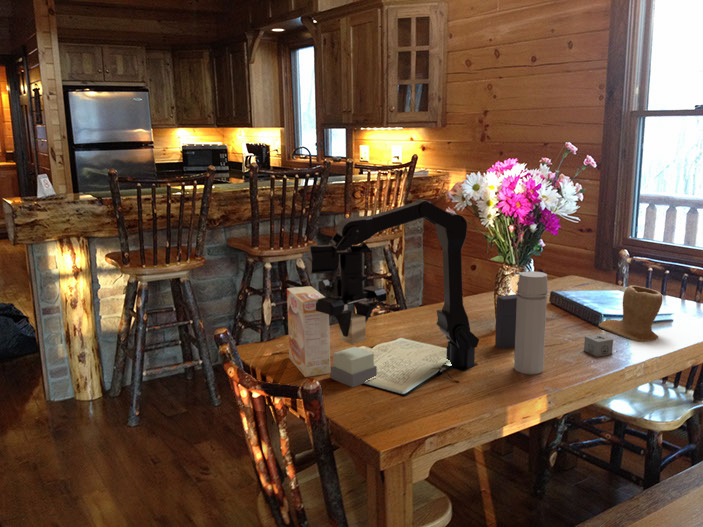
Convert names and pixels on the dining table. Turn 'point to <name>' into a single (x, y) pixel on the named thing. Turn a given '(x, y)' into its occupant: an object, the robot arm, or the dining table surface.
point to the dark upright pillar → (506, 321)
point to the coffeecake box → (308, 332)
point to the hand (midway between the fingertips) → (352, 334)
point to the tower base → (352, 376)
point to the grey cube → (598, 345)
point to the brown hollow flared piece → (636, 314)
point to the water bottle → (530, 322)
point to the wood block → (355, 330)
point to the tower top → (353, 360)
